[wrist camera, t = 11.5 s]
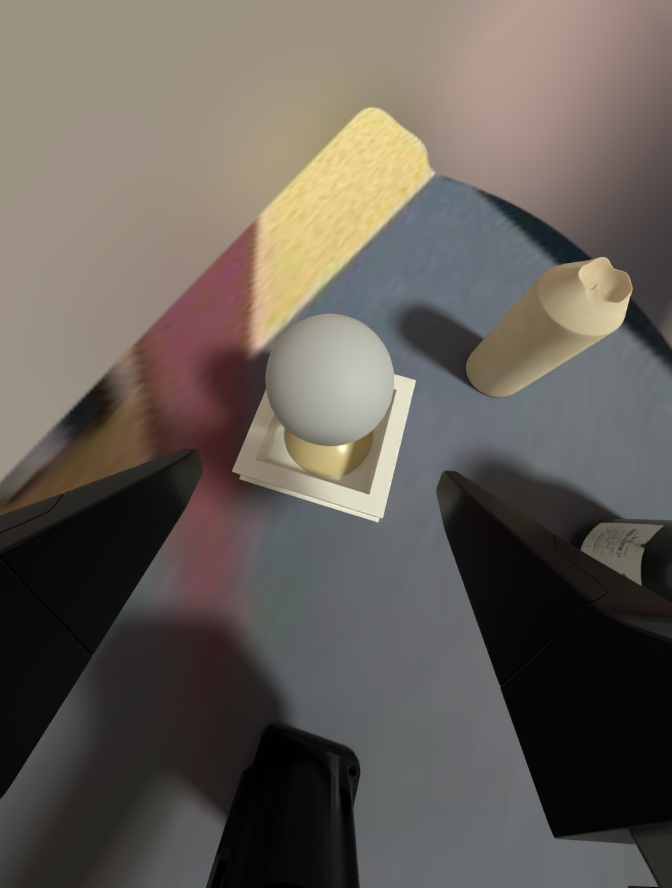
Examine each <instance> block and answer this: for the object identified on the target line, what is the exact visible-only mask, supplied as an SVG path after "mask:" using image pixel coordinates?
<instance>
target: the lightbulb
mask: <svg viewBox="0 0 672 888" xmlns="http://www.w3.org/2000/svg"><path fill="white" fill-rule="evenodd" d="M265 381H266V391H267V397H268V400H269V403H270V406H271V408H272V410H273V412H274V413H275V415H276V417H277V419H278V420H279V421H280V423H281V424H282V425H283V426H284V427H285V428H286V429H287V430H288V431H289V432H291V433H292V434H293V435H295V436H296V437H298V438H300V439H302V440H304V441H306V442H309V443H312V444H316V445H320V446H339V445H345V444H348V443H351V442H354V441H356V440H359V439H360V438H362V437H364V436H365V435H367V434H369V433H370V432H371V431H372V430H373V429H374V428H375V427H376V426H377V425H378V424H379V423H380V421H381V420H382V419H383V417H384V416H385V414H386V412H387V410H388V408H389V405H390V403H391V400H392V395H393V390H394V371H393V367H392V363H391V358H390V355H389V353H388V351H387V349H386V347H385V345H384V344H383V343H382V341H381V340H380V338H379V337H378V336H377V335H376V334H375V333H374V332H373V331H372V330H371V329H370V328H369V327H368V326H366V325H364V324H363V323H361V322H360V321H358V320H355V319H353V318H350V317H347V316H343V315H338V314H321V315H316V316H312V317H309V318H306V319H304V320H302V321H300V322H298V323H296V324H295V325H293V326H292V327H290V328H289V329H288V330H287V331H286V332H285V333H284V334H283V335H282V336H281V337H280V339H279V340H278V341H277V343H276V344H275V346H274V347H273V349H272V351H271V354H270V357H269V359H268V363H267V369H266V376H265Z"/></svg>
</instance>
